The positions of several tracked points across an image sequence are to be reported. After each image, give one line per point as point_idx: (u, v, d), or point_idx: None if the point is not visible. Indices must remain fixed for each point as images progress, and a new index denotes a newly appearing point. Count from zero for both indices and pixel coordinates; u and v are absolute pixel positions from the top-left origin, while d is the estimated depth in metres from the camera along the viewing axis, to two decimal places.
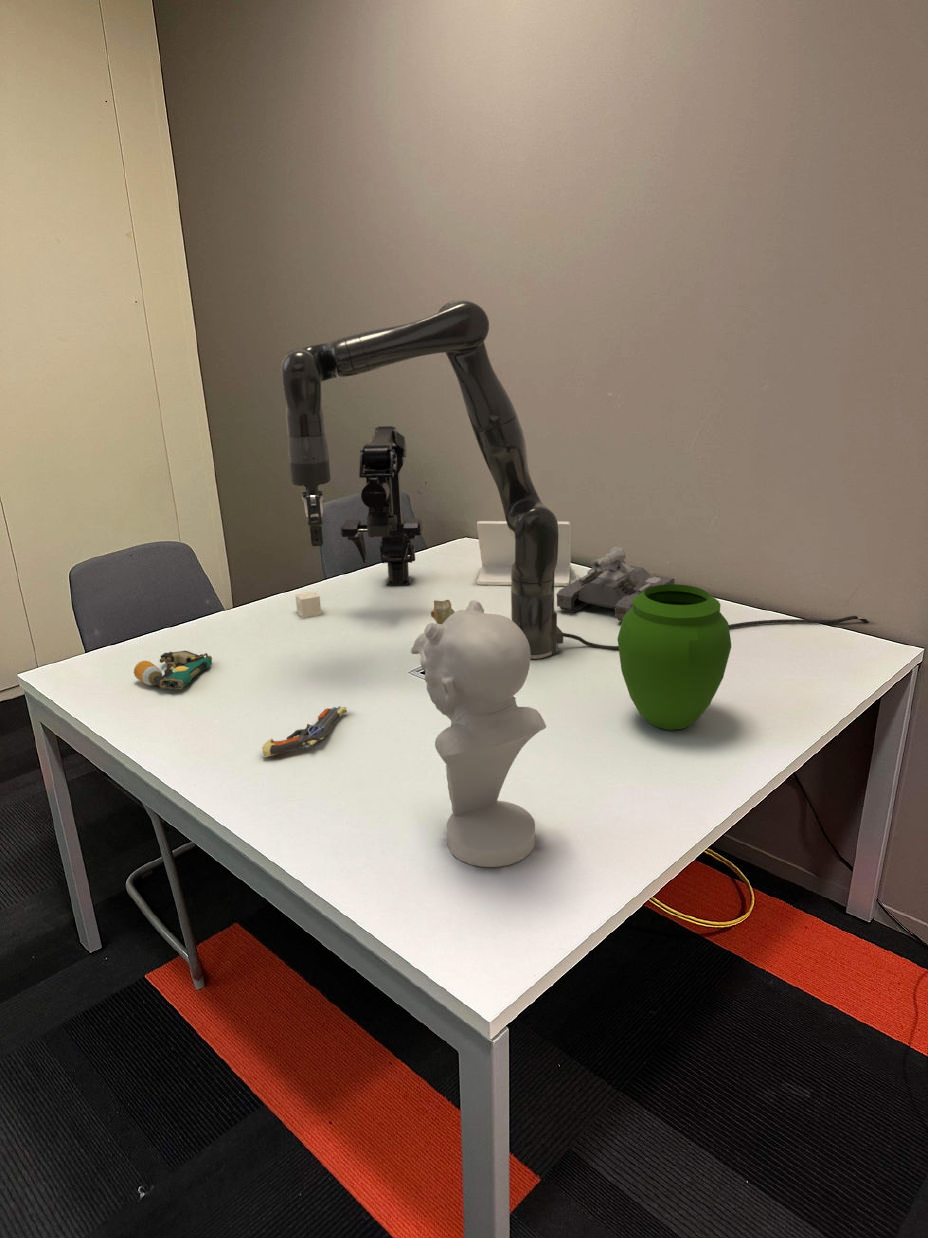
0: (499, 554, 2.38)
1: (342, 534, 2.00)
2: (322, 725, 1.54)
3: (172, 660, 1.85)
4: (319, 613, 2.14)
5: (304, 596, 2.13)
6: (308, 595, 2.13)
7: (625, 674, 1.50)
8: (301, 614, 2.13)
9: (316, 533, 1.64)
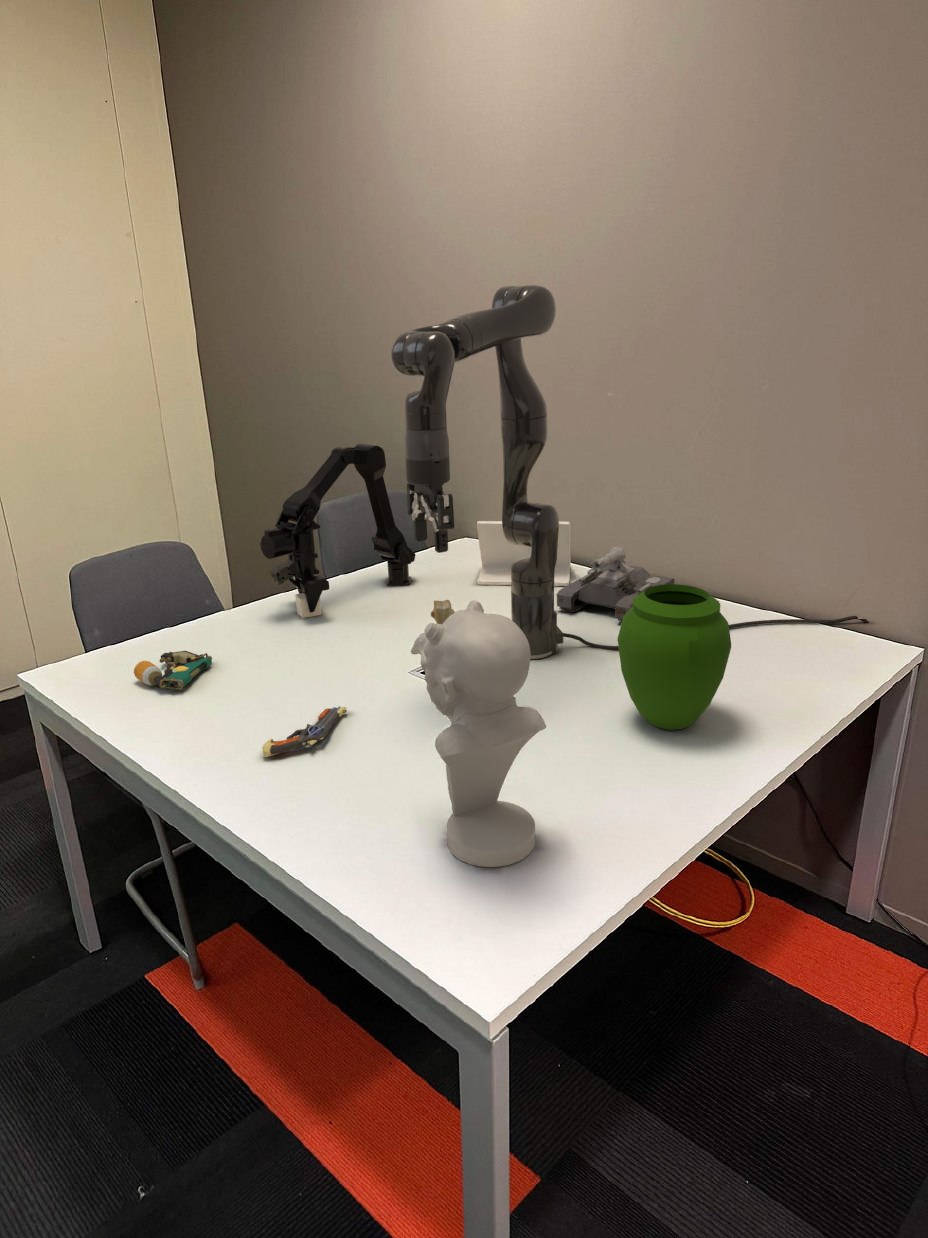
0: (499, 554, 2.38)
1: None
2: (322, 725, 1.54)
3: (172, 660, 1.85)
4: (319, 613, 2.14)
5: (304, 596, 2.13)
6: None
7: (625, 674, 1.50)
8: (301, 614, 2.13)
9: None
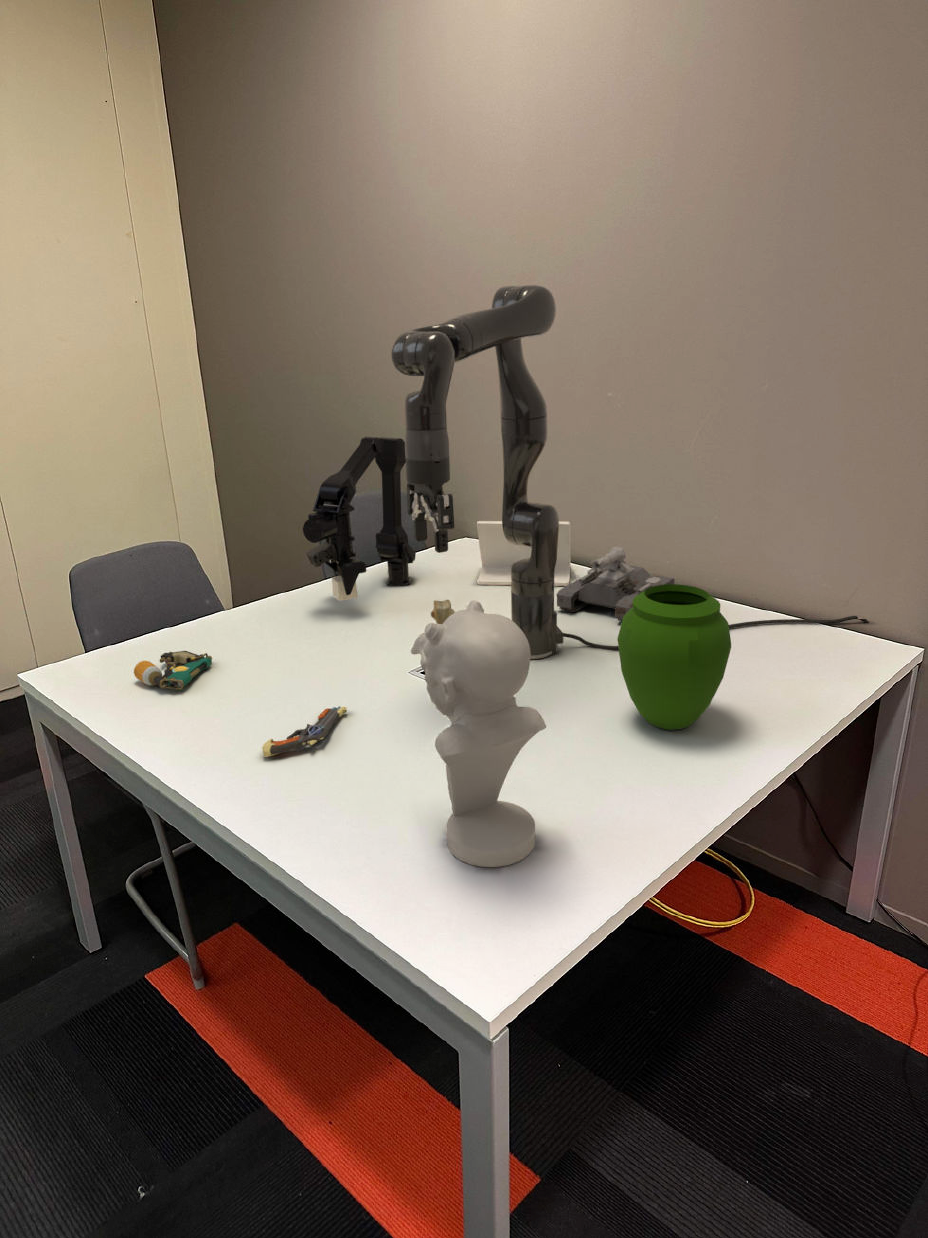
0: (499, 554, 2.38)
1: None
2: (322, 725, 1.54)
3: (172, 660, 1.85)
4: (355, 596, 2.14)
5: (340, 578, 2.13)
6: None
7: (625, 674, 1.50)
8: (337, 597, 2.13)
9: None
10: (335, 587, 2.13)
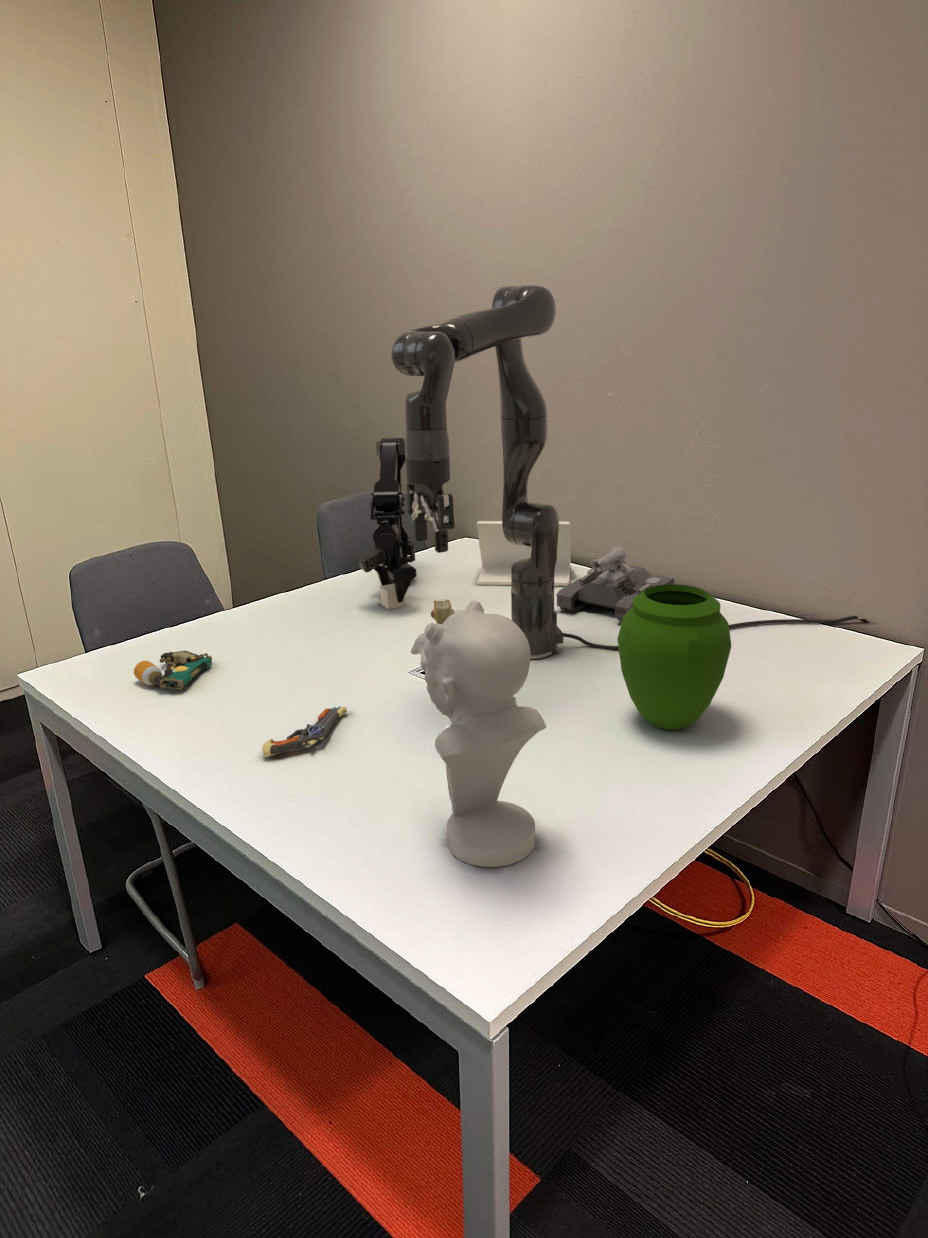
0: (499, 554, 2.38)
1: None
2: (322, 725, 1.54)
3: (172, 660, 1.85)
4: (403, 604, 2.18)
5: (389, 587, 2.17)
6: (393, 586, 2.17)
7: (625, 674, 1.50)
8: (386, 606, 2.17)
9: None
10: (384, 596, 2.17)
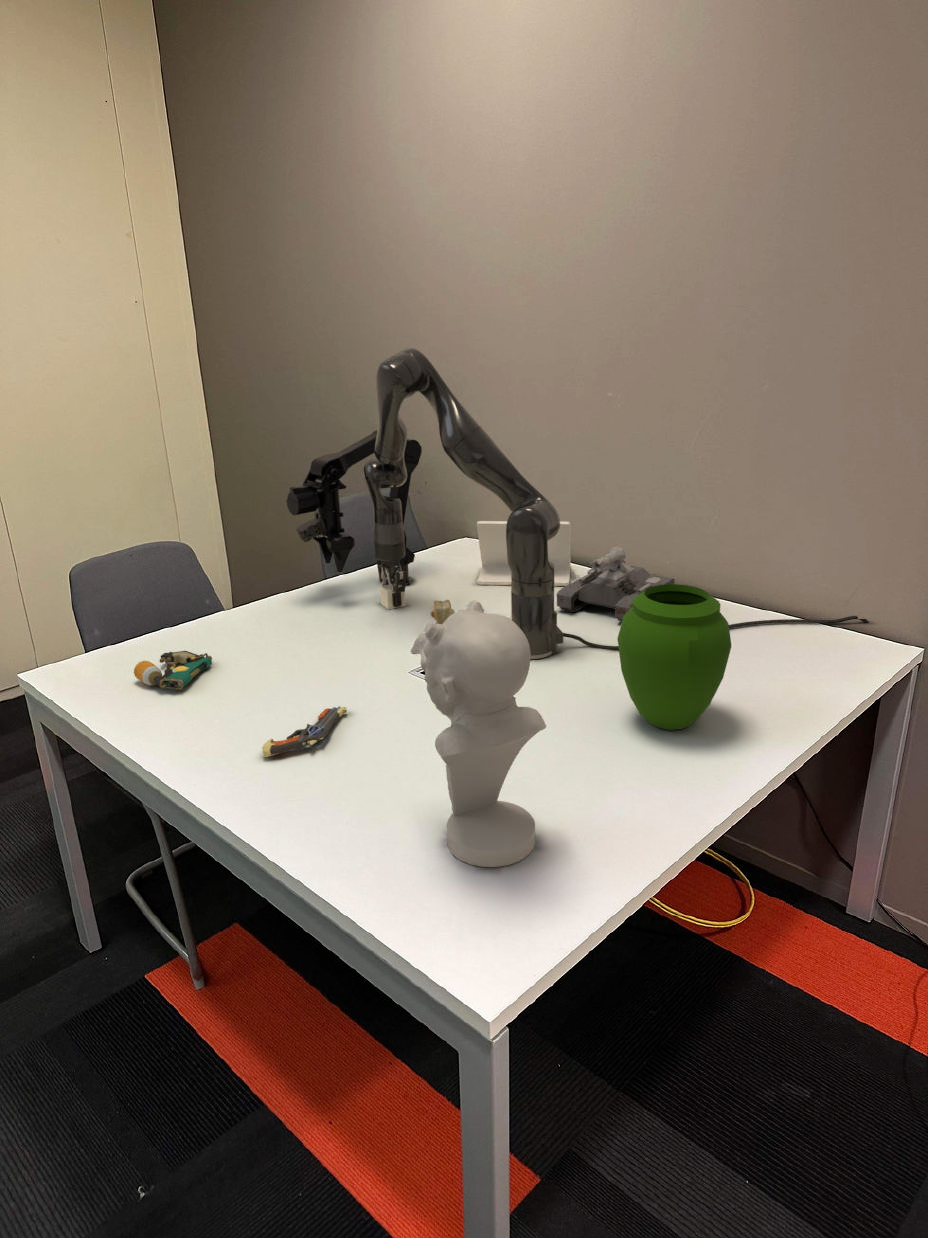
0: (499, 554, 2.38)
1: None
2: (322, 725, 1.54)
3: (172, 660, 1.85)
4: (403, 604, 2.18)
5: (389, 587, 2.17)
6: None
7: (625, 674, 1.50)
8: (386, 606, 2.17)
9: None
10: (384, 596, 2.17)
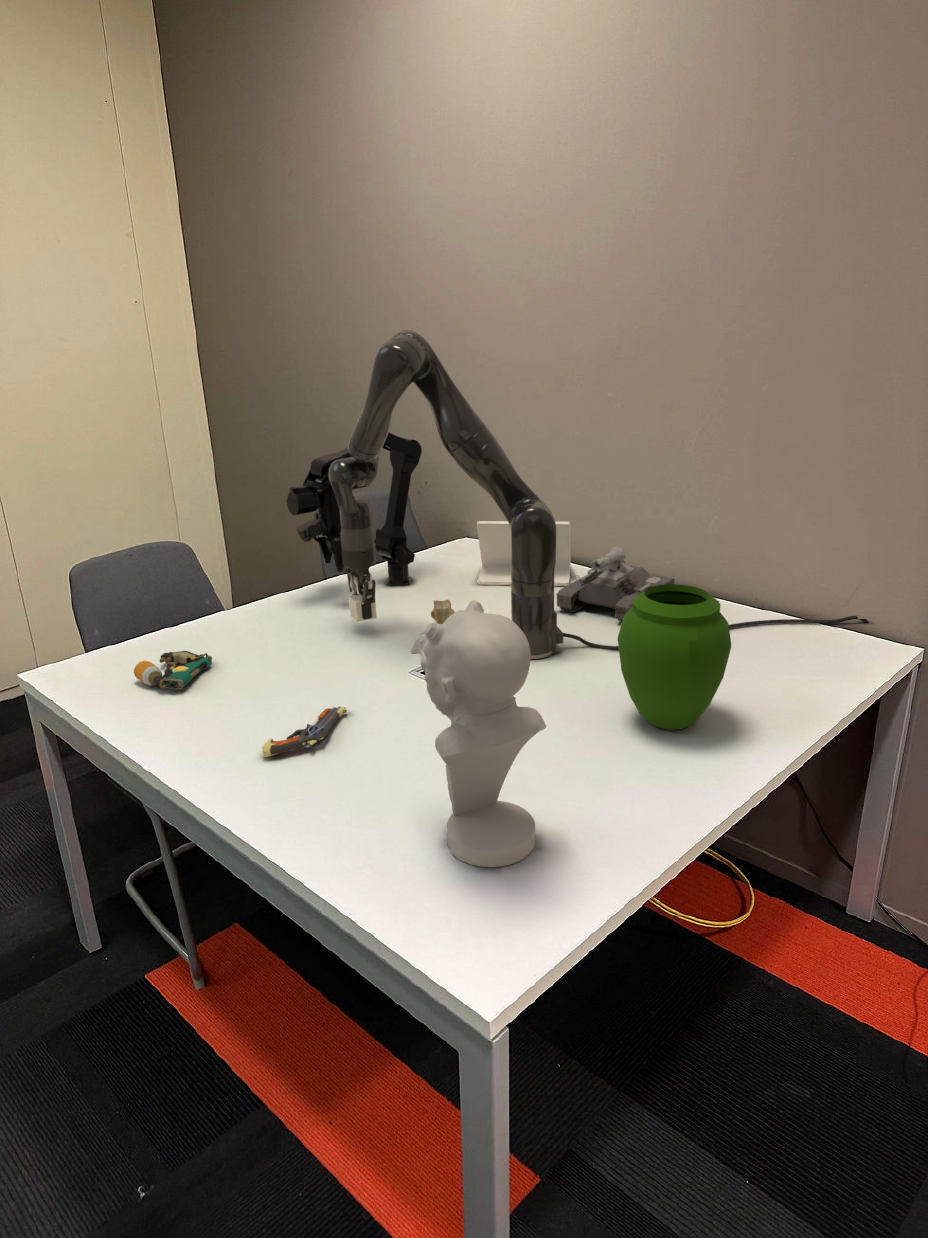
0: (499, 554, 2.38)
1: None
2: (322, 725, 1.54)
3: (172, 660, 1.85)
4: (374, 616, 1.99)
5: (359, 598, 1.98)
6: None
7: (625, 674, 1.50)
8: (355, 618, 1.98)
9: None
10: (353, 607, 1.98)
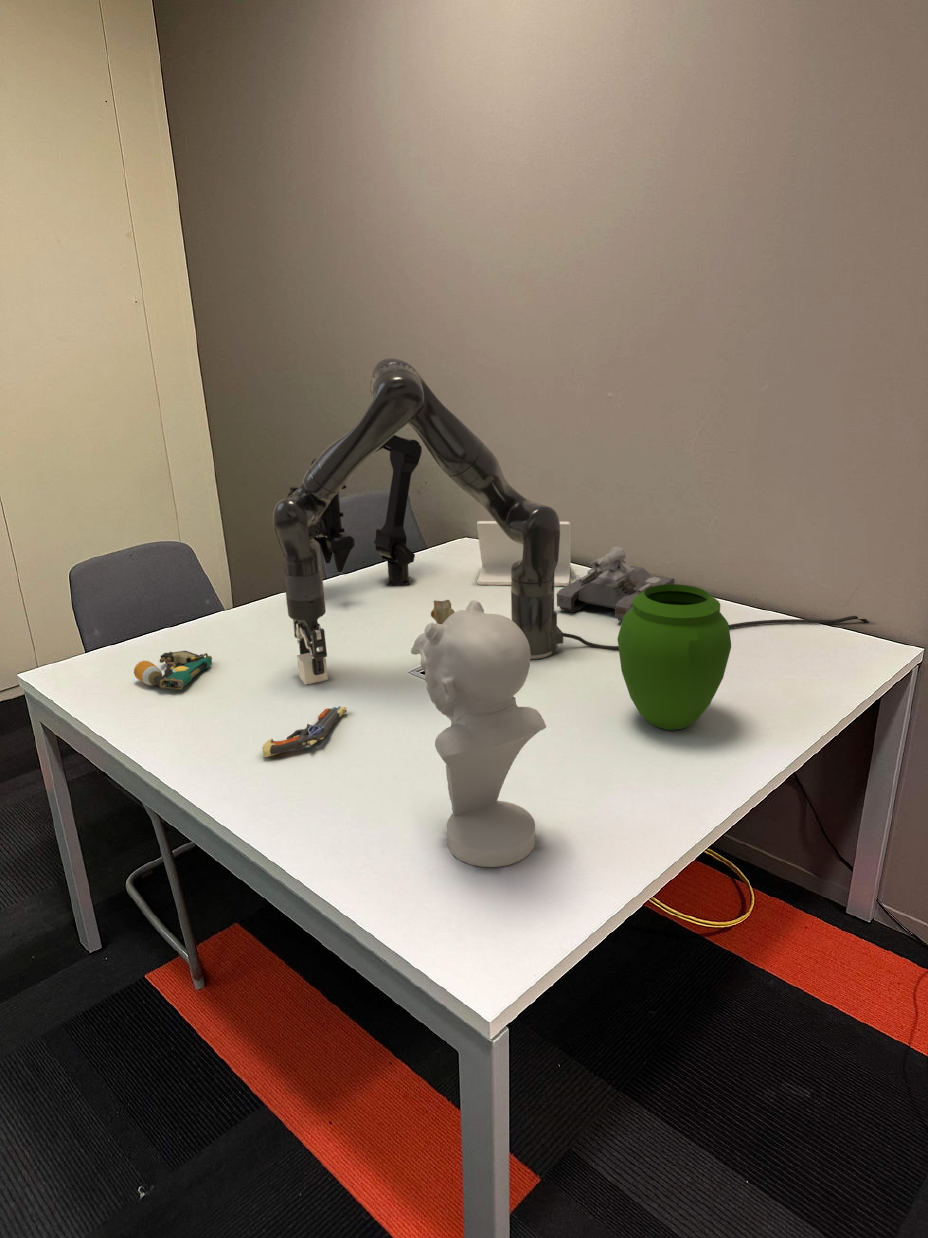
0: (499, 554, 2.38)
1: None
2: (322, 725, 1.54)
3: (172, 660, 1.85)
4: (325, 678, 1.77)
5: (307, 657, 1.76)
6: None
7: (625, 674, 1.50)
8: (303, 680, 1.76)
9: None
10: (301, 668, 1.76)
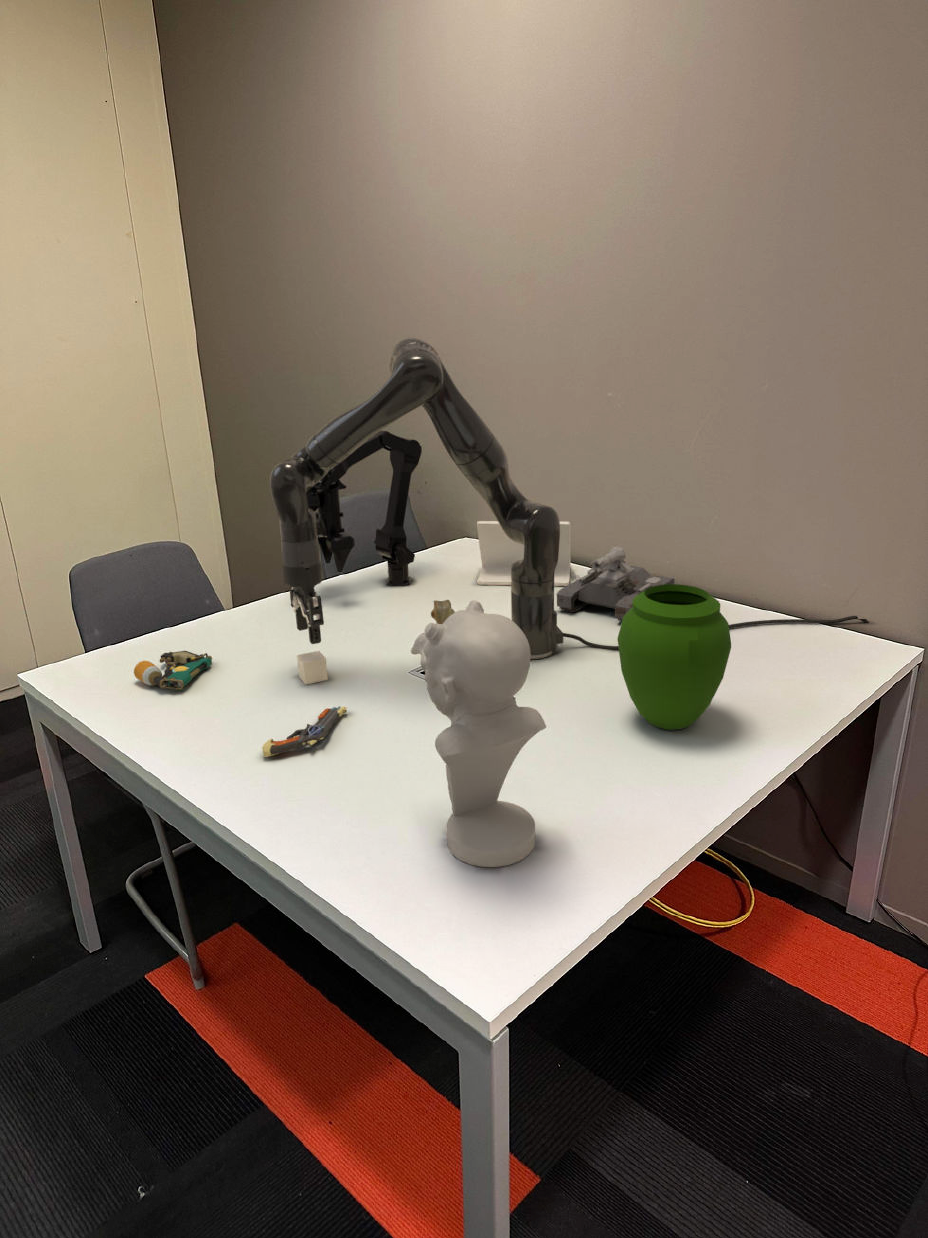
0: (499, 554, 2.38)
1: None
2: (322, 725, 1.54)
3: (172, 660, 1.85)
4: (325, 678, 1.77)
5: (307, 657, 1.76)
6: (312, 656, 1.76)
7: (625, 674, 1.50)
8: (303, 680, 1.76)
9: None
10: (301, 668, 1.76)
